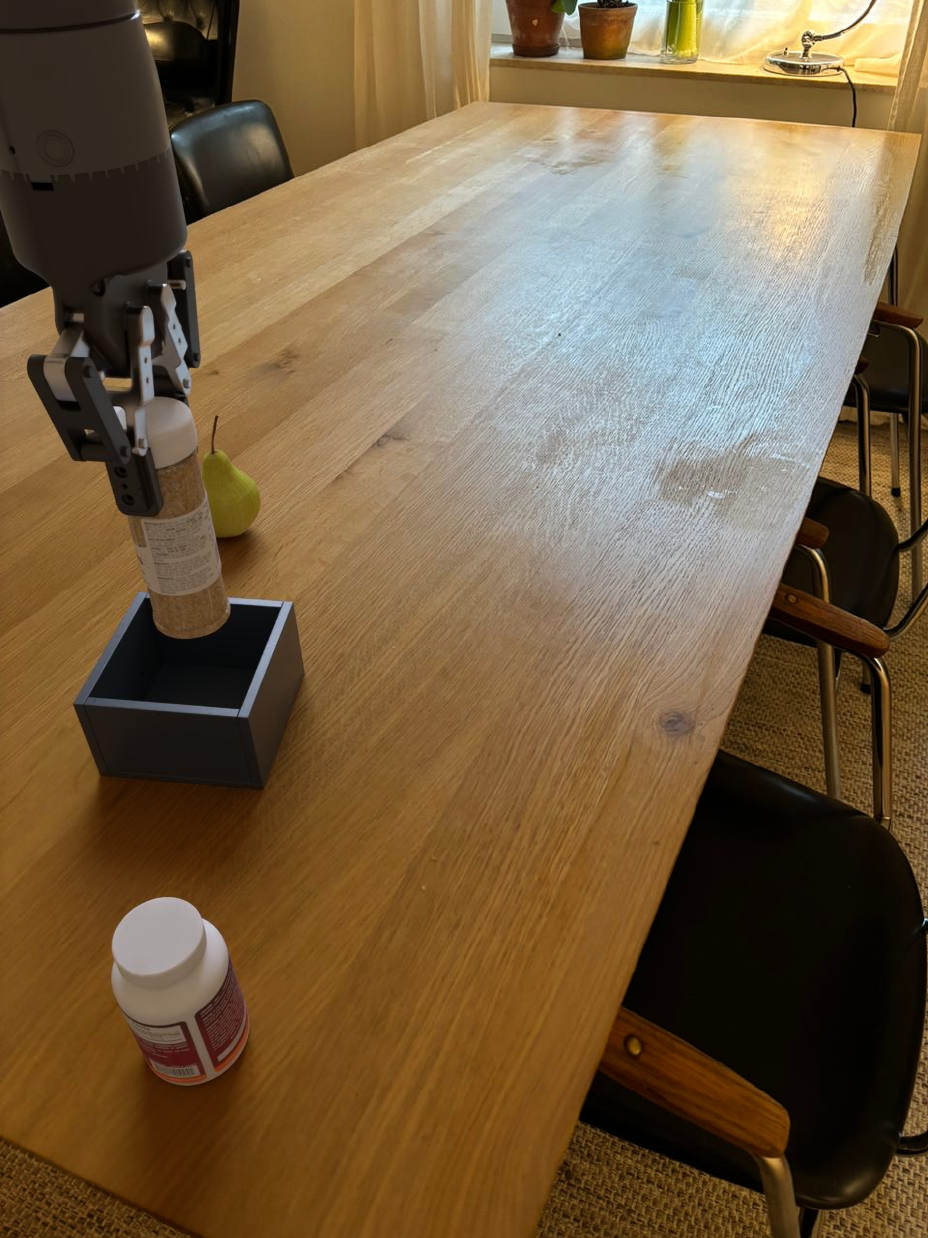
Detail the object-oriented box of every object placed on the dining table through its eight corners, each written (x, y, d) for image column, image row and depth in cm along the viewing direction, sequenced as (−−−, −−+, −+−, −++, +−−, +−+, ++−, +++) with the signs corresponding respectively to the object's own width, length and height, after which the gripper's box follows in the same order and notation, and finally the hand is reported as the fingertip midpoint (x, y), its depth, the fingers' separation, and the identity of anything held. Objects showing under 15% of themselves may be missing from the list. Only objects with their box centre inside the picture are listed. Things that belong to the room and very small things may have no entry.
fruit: (233, 560, 94) (210, 450, 86) (177, 540, 97) (151, 432, 89) (277, 523, 99) (260, 416, 91) (223, 505, 101) (202, 399, 93)
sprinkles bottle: (157, 597, 60) (104, 396, 51) (234, 590, 61) (193, 389, 52) (151, 647, 57) (92, 440, 48) (232, 639, 57) (188, 432, 48)
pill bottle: (228, 970, 62) (194, 865, 55) (267, 1052, 58) (237, 950, 51) (130, 1021, 59) (82, 918, 52) (164, 1111, 55) (117, 1013, 48)
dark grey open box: (99, 775, 74) (72, 704, 69) (158, 661, 83) (138, 590, 79) (263, 790, 73) (248, 718, 68) (304, 672, 82) (293, 601, 77)
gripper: (67, 95, 47) (144, 415, 58) (-102, 190, 37) (32, 560, 48) (218, 99, 47) (267, 422, 58) (91, 198, 36) (181, 572, 47)
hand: (160, 483), depth 53 cm, fingers closed on sprinkles bottle, 4 cm apart
